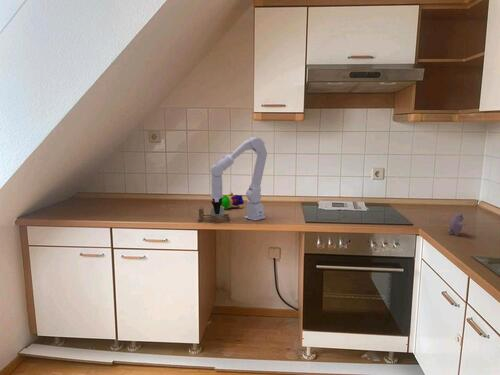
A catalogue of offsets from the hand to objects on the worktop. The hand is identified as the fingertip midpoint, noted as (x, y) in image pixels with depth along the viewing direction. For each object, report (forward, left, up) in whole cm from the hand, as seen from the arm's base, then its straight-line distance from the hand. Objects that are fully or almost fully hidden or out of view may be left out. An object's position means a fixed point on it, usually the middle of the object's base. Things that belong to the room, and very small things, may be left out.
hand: (217, 212), depth 199 cm
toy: (+16, -24, -4) cm, 29 cm away
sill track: (+1, +1, -4) cm, 4 cm away
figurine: (-97, -64, -4) cm, 116 cm away
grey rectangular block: (0, 0, -3) cm, 3 cm away
